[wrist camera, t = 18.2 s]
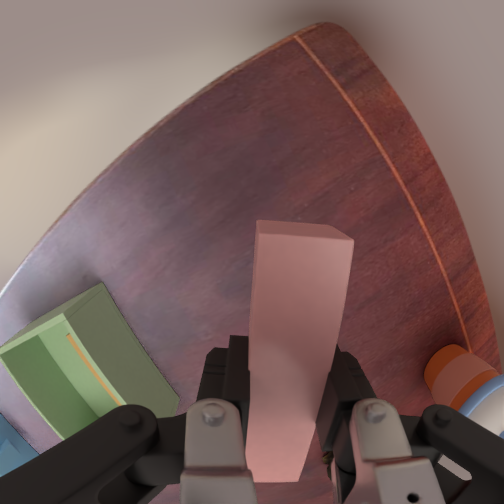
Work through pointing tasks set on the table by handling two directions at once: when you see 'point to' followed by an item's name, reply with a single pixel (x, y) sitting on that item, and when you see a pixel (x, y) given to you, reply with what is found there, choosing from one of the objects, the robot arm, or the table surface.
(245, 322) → the table surface
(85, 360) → the mustard wooden beam
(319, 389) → the pink stick
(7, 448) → the container
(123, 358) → the bin
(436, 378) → the cup with straw
